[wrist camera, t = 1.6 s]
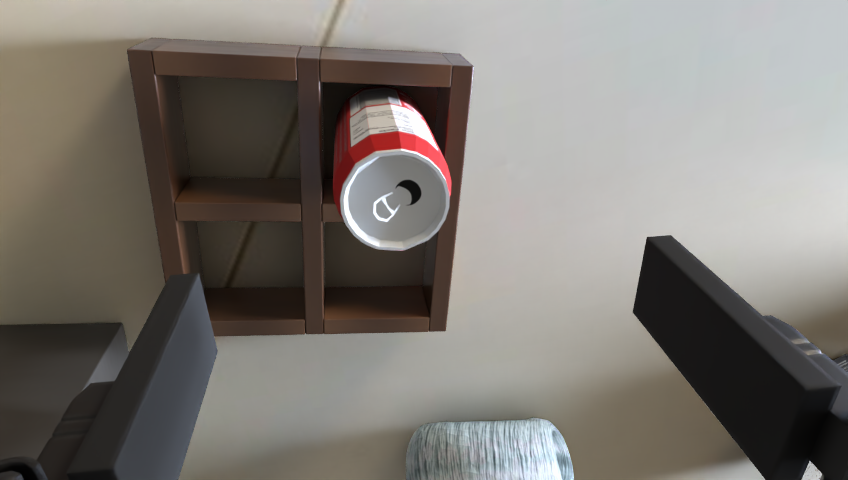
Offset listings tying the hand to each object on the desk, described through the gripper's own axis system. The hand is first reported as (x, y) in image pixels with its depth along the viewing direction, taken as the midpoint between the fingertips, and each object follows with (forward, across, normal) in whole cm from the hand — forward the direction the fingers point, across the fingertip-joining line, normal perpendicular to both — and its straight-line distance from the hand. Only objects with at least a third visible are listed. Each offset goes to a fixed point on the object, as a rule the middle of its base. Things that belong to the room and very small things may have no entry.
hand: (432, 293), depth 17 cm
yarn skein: (+21, +7, -29) cm, 36 cm away
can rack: (+21, -5, -5) cm, 22 cm away
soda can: (+21, 0, -1) cm, 21 cm away
